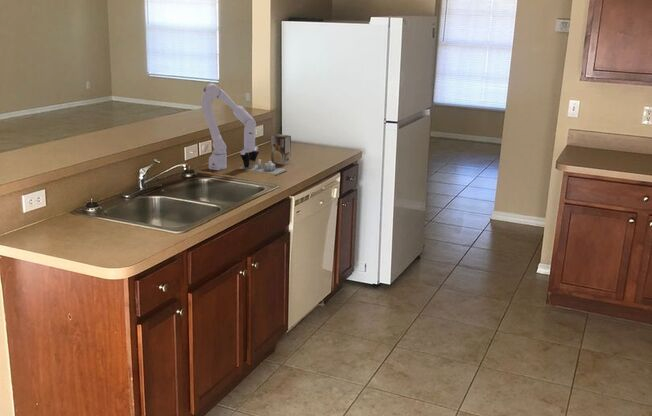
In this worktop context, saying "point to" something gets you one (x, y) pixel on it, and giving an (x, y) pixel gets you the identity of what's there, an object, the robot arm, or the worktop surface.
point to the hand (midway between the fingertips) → (249, 165)
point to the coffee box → (281, 149)
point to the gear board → (266, 168)
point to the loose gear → (251, 164)
